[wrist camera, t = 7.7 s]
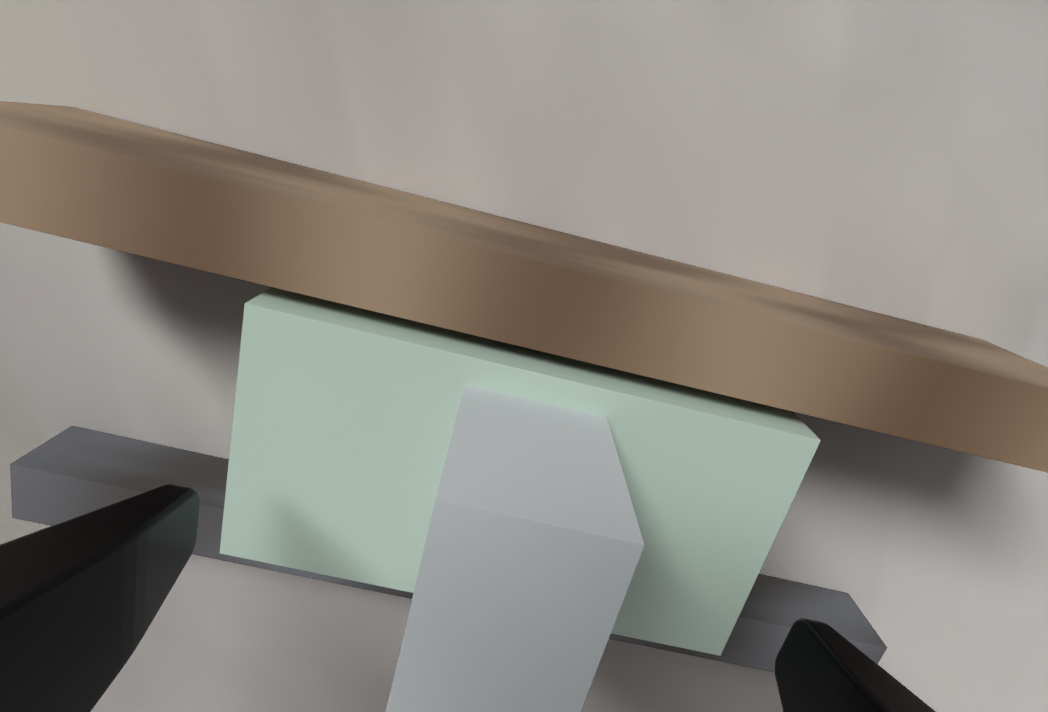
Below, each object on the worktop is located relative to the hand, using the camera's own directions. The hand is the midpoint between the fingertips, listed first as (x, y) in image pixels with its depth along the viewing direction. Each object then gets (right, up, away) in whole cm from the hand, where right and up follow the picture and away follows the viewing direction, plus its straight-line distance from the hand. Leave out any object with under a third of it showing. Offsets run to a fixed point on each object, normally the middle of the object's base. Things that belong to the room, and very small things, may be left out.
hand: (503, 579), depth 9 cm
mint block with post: (0, +2, +7) cm, 7 cm away
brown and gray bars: (0, +2, +7) cm, 7 cm away
